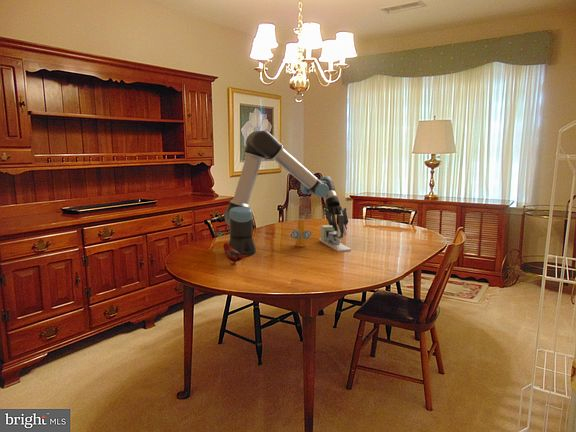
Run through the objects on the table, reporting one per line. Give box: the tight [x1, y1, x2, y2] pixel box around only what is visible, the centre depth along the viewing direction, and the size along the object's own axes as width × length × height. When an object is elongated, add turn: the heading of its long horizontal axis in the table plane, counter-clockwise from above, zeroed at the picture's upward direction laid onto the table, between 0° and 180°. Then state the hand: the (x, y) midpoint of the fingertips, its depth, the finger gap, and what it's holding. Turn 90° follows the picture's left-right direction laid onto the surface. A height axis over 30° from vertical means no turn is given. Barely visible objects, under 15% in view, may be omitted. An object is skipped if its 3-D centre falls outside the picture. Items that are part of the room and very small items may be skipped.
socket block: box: [320, 224, 336, 241], centre depth 245 cm, size 5×6×8 cm
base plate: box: [318, 238, 352, 253], centre depth 236 cm, size 28×8×1 cm, turn 17°
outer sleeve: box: [328, 231, 341, 245], centre depth 236 cm, size 7×4×6 cm, turn 17°
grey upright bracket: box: [327, 213, 344, 243], centre depth 234 cm, size 17×3×15 cm, turn 17°
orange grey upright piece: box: [290, 218, 312, 248], centre depth 234 cm, size 12×10×15 cm
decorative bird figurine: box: [222, 242, 250, 266], centre depth 196 cm, size 3×18×10 cm, turn 51°
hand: (342, 235), depth 224 cm, fingers closed on grey upright bracket, 3 cm apart
